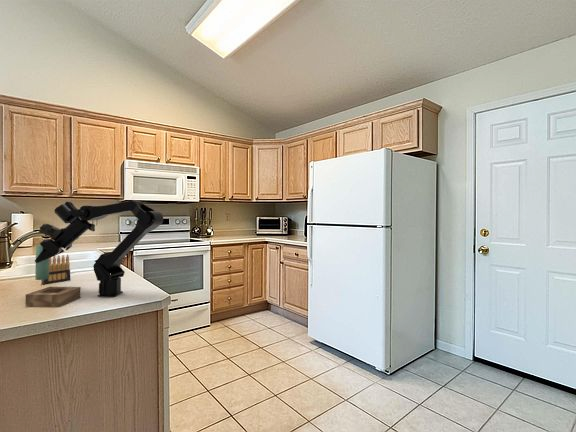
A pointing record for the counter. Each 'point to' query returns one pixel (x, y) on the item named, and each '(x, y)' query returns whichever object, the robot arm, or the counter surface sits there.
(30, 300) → the socket block
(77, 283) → the counter surface
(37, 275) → the peg
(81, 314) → the counter surface
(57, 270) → the ammunition clip
